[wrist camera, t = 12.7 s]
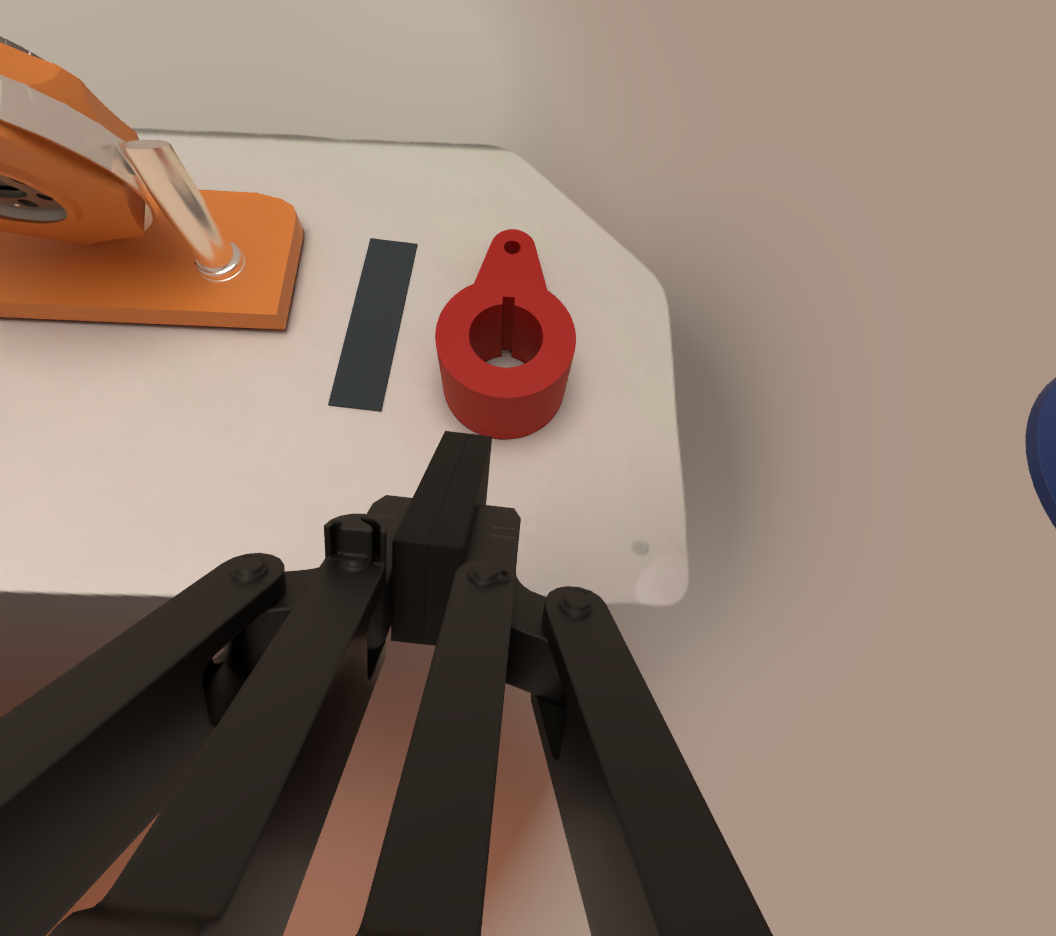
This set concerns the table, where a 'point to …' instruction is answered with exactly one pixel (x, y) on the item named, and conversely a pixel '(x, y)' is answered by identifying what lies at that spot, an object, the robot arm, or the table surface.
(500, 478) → the table surface
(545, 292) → the lever
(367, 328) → the strip
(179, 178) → the desk clock
